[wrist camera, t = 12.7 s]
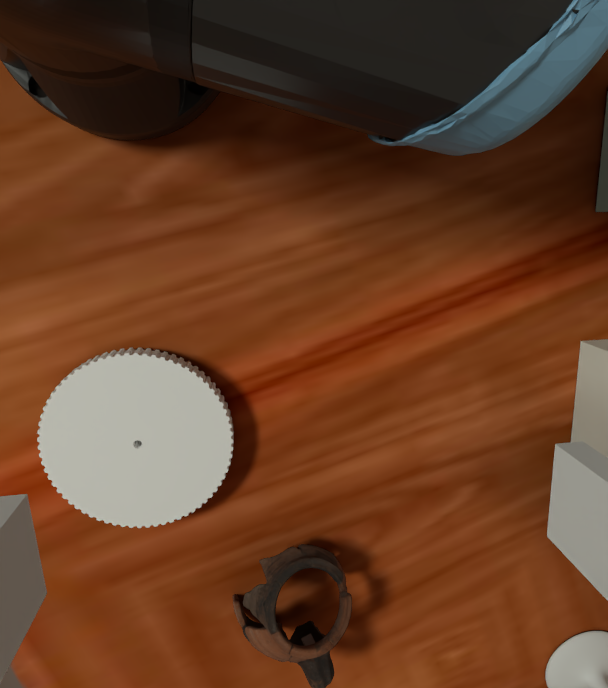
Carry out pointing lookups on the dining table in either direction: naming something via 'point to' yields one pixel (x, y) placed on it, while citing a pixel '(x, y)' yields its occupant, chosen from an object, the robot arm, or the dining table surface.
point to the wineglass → (580, 662)
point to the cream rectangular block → (592, 396)
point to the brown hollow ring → (306, 639)
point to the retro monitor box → (603, 170)
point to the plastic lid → (136, 437)
